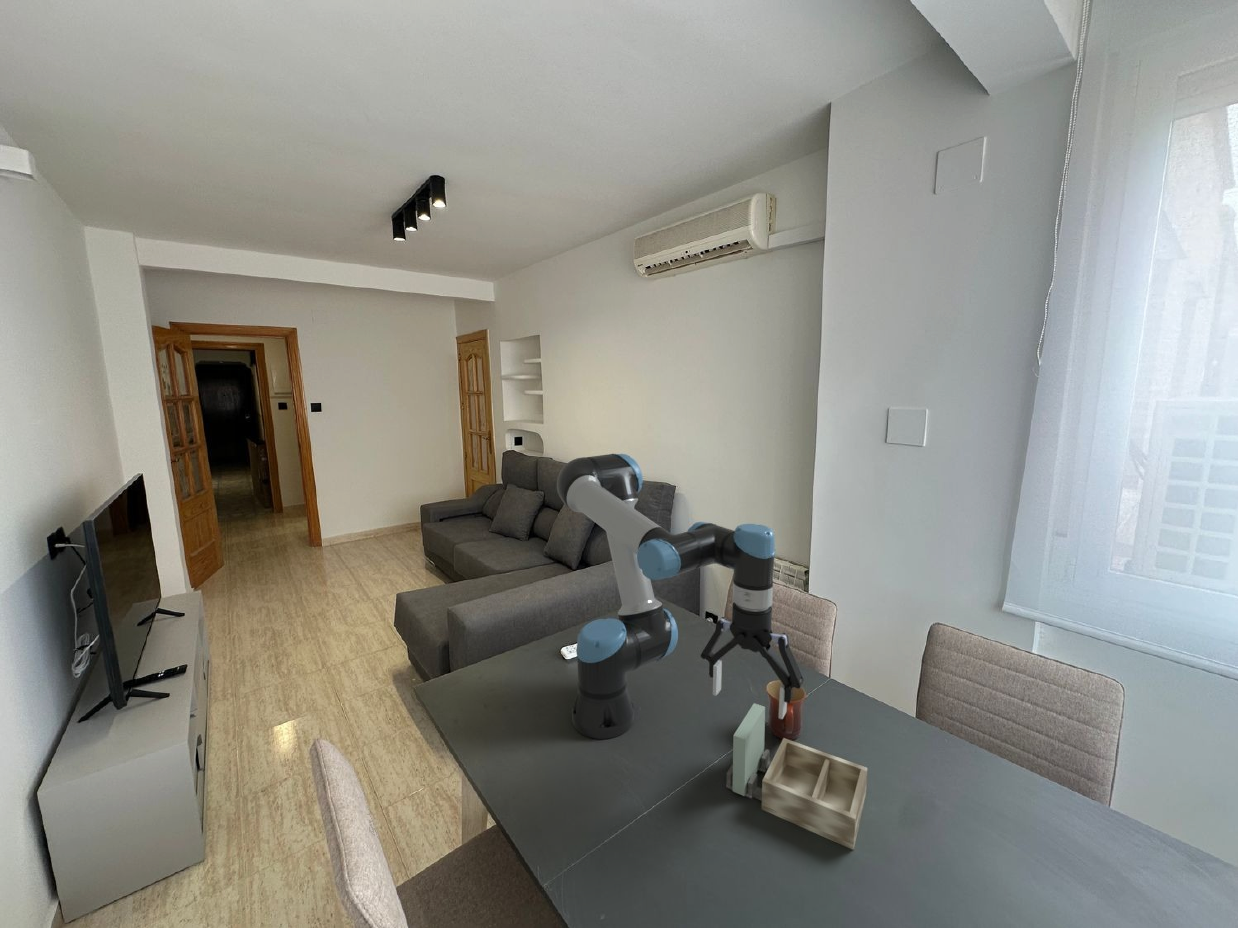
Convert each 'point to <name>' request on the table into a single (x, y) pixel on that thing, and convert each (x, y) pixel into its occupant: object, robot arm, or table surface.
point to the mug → (793, 717)
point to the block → (748, 748)
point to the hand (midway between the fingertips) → (748, 703)
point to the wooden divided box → (811, 790)
